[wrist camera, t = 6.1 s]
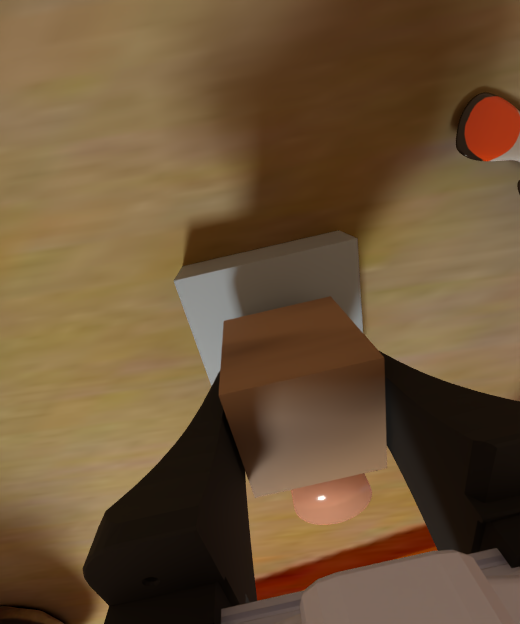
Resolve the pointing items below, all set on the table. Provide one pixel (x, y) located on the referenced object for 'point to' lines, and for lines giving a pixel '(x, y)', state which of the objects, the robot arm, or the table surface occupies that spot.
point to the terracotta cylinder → (332, 500)
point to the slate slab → (267, 286)
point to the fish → (489, 130)
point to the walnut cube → (303, 396)
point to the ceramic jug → (25, 616)
